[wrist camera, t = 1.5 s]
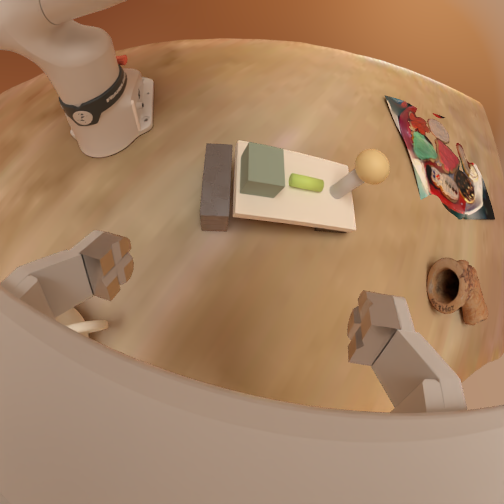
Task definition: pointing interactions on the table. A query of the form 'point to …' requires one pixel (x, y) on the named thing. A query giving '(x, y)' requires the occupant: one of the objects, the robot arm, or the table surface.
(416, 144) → the colourful flat sheet
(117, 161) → the table surface
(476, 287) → the clay pipe
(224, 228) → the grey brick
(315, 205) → the plate
